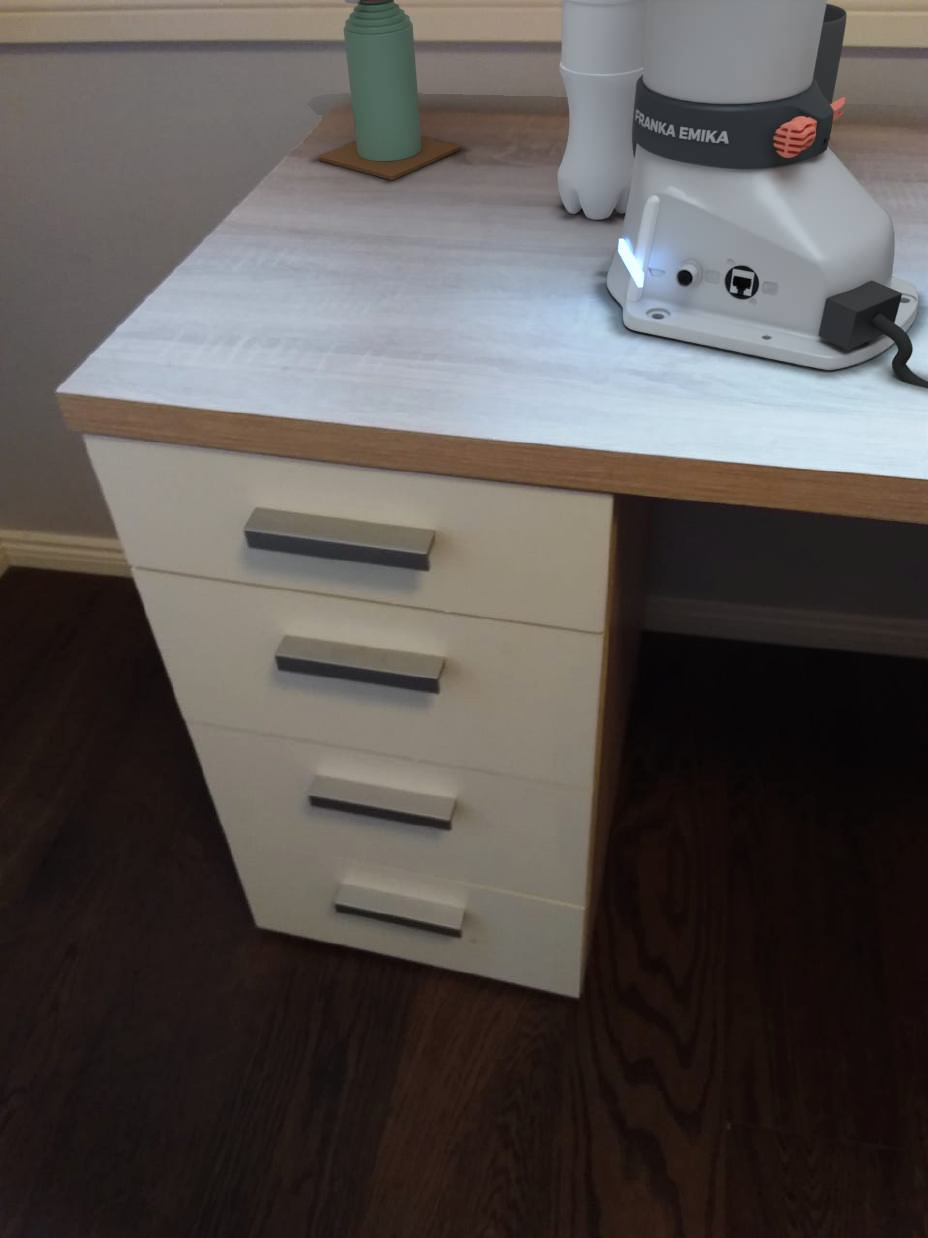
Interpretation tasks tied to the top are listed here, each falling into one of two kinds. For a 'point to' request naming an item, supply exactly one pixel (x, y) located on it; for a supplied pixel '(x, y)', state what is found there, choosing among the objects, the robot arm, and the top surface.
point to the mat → (390, 169)
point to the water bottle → (600, 101)
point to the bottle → (383, 81)
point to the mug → (830, 50)
